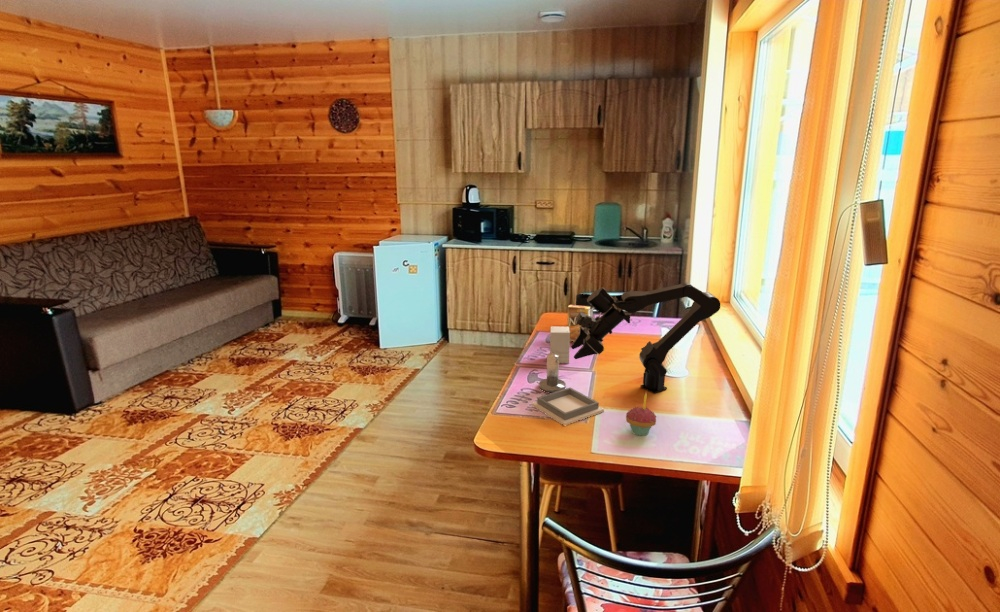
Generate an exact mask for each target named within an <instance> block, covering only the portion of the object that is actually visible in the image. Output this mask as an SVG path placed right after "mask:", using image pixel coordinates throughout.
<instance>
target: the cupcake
mask: <svg viewBox="0 0 1000 612" xmlns="http://www.w3.org/2000/svg"><path fill="white" fill-rule="evenodd" d="M643 396H644V397H643V405H642V407H641V406H640V407H638V406H637V407H633V408H631V409H630V410H628V411H627V412H626V416H625V419H626V422H627V423H628V424H629V426H630V430H631V432H632V434H634V435H636V434H637V435H636V436H640V435H644V436H647V435H648V434H649V432H650V430H651V428H652V427H653V426H655V425H657V416H656V414H655V412H654V411H653V410H650V409H649V408H647V407H646V403H647V396H648V394H647V391H645V394H644V395H643Z"/></svg>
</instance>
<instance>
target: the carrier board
mask: <svg viewBox="0 0 1000 612" xmlns="http://www.w3.org/2000/svg"><path fill="white" fill-rule="evenodd" d="M599 404H600V403H599V401H596V400H595V399H592V398H591V397H589V396H587V395H585V394H583V393H581V392H579V391H578V390H576V389H574V388H572V387H567V388H566V389H563V390H560V391H557V392H554V393H546V394H545V395H541V396H538V397H537V399H536V401H534V402H532V403H531V406H532V405H533V406H534V407H536V408H537V409H536V408H535V409H536V410H538V409H539V410H541V411H542V412H544V413H546V414H547V415H548V416H547V415H546V414H545V415H546V416H547V417H549V416H550V417H552V418H553V419H552V418H551V419H552V420H554V421H555V420H556V421H555V422H557V421H558V422H559V423H558V422H557V423H558V424H560V423H561V424H560V425H562V424H563V425H564V426H563V425H562V426H563V427H566V426H568V425H567V424H569V425H571V424H570V423H572V424H574V423H573V422H575V421H577V422H579V421H578V420H580V421H582V419H583V420H585V418H586V419H588V418H591V417H593V415H594V416H596V414H597V415H599V414H602V413H604V412H605V409H604V408H603V407H602V406H600V405H599ZM533 406H532V407H533ZM534 407H533V408H534ZM539 410H538V411H539ZM541 411H540V412H541ZM601 412H602V413H601ZM544 413H543V414H544ZM590 416H591V417H590ZM550 417H549V418H550ZM587 417H588V418H587ZM575 423H576V422H575ZM565 425H566V426H565Z"/></svg>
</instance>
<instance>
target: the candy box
mask: <svg viewBox="0 0 1000 612" xmlns="http://www.w3.org/2000/svg"><path fill="white" fill-rule="evenodd" d="M580 312H582V313H584V314H586V315H589V316H590V306H580V305H576V304H569V305H568V306H567V324H566V325H567V326H566V327H569V331H570V342H571V341H573V342H572V343H574V341H575V340H576V338H577V337H578V335H579V333H580V325H578V324H577V323H576V322H577V321H576V318H577V317H578V315H579V313H580Z"/></svg>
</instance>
